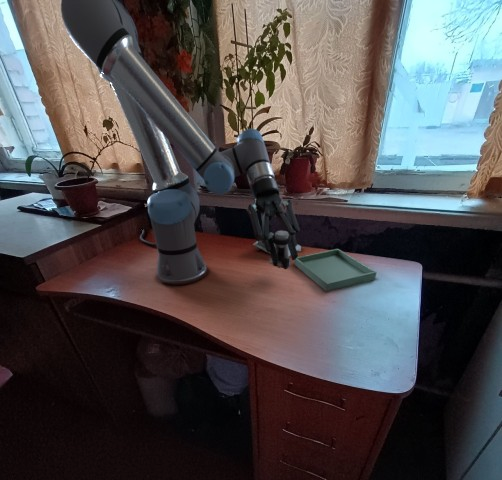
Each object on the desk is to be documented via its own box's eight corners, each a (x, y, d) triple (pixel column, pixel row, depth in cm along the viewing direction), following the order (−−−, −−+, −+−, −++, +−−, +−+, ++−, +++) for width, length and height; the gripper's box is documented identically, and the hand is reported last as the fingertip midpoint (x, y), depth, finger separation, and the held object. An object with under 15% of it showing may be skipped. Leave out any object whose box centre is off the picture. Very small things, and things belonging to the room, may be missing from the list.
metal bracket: (248, 240, 102) (271, 226, 112) (245, 255, 106) (267, 240, 116) (285, 259, 99) (305, 243, 108) (280, 274, 103) (300, 257, 112)
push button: (265, 267, 92) (264, 234, 85) (273, 259, 95) (273, 227, 88) (285, 272, 89) (286, 238, 82) (293, 264, 92) (294, 231, 86)
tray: (294, 264, 100) (294, 257, 99) (337, 255, 104) (338, 248, 103) (326, 291, 86) (327, 283, 84) (374, 279, 90) (376, 272, 88)
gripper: (287, 189, 95) (308, 259, 93) (230, 195, 90) (251, 270, 88) (296, 172, 88) (320, 249, 86) (235, 179, 83) (258, 260, 81)
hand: (285, 259), depth 87 cm, fingers closed on push button, 5 cm apart
